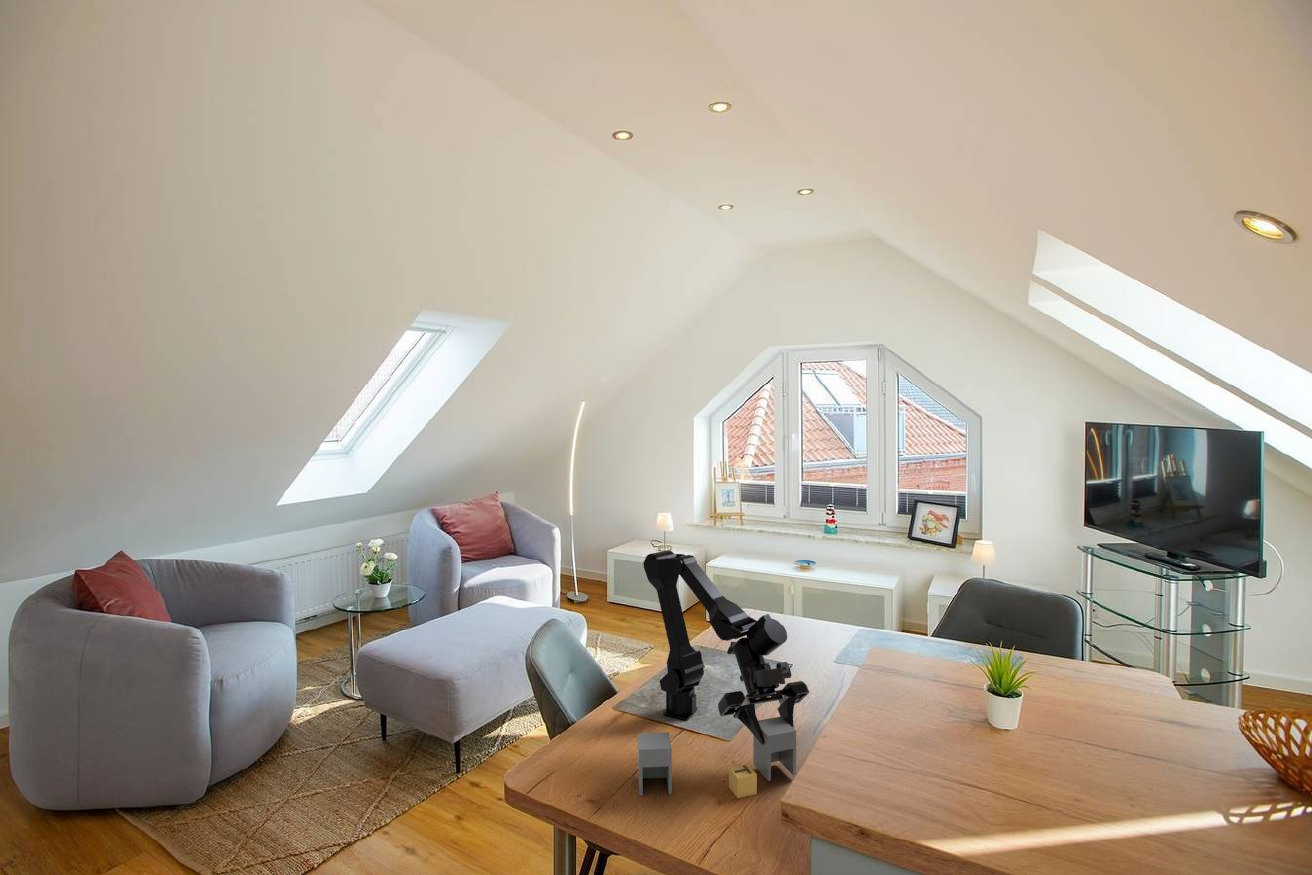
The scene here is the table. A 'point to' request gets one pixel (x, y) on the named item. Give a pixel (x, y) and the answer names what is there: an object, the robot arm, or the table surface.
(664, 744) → the slate cover
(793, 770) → the charcoal cover
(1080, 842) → the table surface
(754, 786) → the ochre cube
